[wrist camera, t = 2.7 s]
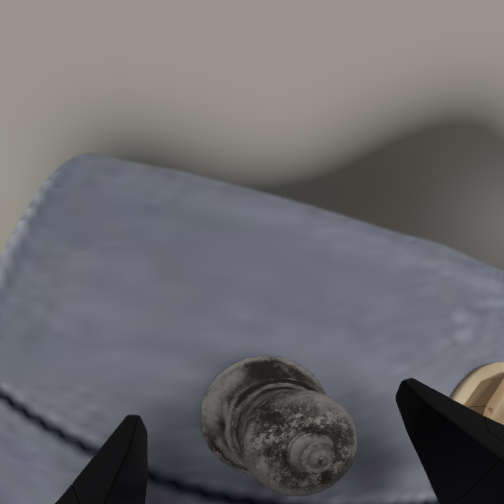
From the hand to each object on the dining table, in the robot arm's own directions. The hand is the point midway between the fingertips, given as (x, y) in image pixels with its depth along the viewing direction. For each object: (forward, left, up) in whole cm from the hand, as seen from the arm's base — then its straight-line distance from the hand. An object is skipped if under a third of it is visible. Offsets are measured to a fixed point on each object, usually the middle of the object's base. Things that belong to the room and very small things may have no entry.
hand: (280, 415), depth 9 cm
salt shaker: (0, 0, -8) cm, 8 cm away
